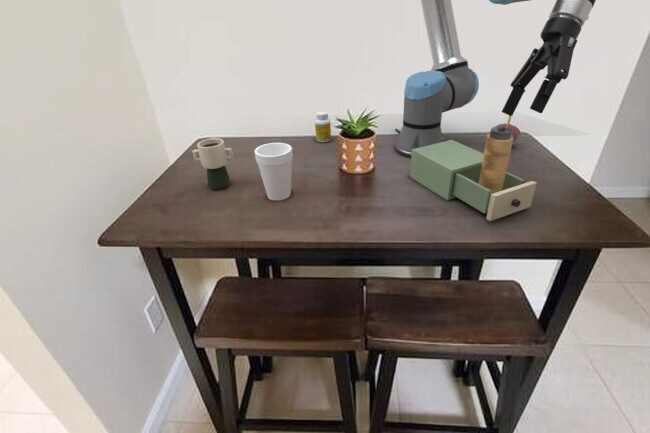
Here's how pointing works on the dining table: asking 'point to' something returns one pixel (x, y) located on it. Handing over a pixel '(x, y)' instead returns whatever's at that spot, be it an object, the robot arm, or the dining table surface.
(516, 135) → the cupcake
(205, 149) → the character mug
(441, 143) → the cabinet
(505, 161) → the pepper mill
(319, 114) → the supplement bottle
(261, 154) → the foam cup
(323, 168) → the dining table surface
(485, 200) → the drawer
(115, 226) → the dining table surface
